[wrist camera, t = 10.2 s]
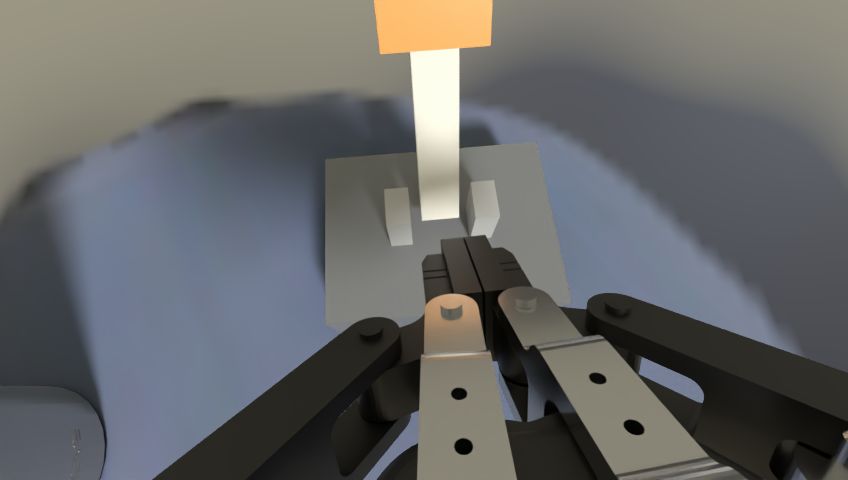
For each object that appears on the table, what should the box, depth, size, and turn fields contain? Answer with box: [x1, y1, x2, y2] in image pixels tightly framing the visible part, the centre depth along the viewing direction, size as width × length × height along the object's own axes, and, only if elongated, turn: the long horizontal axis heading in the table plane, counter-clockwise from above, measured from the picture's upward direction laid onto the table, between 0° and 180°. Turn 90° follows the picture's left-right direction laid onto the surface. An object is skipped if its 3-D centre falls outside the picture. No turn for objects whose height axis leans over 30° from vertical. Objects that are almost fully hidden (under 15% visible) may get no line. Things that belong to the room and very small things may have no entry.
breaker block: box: [325, 142, 572, 334], centre depth 23 cm, size 13×10×8 cm
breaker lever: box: [374, 0, 492, 221], centre depth 19 cm, size 4×2×10 cm
